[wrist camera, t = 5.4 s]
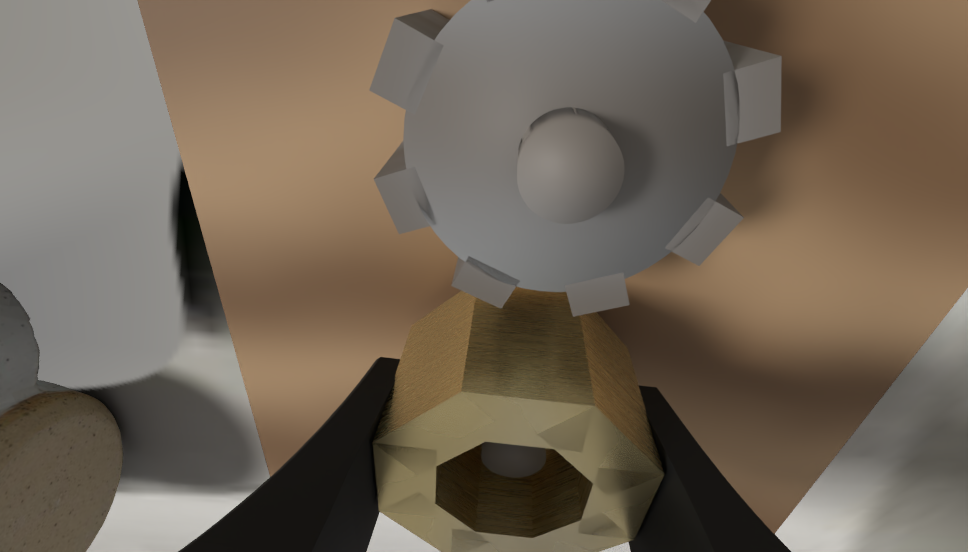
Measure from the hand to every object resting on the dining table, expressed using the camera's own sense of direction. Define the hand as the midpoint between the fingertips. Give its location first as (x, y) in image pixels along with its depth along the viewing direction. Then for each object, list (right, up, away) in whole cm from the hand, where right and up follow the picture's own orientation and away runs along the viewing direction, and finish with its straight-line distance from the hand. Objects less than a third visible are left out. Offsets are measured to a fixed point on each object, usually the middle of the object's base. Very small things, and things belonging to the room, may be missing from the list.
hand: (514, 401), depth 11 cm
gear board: (+1, +2, +2) cm, 3 cm away
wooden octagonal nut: (0, +1, +1) cm, 1 cm away
